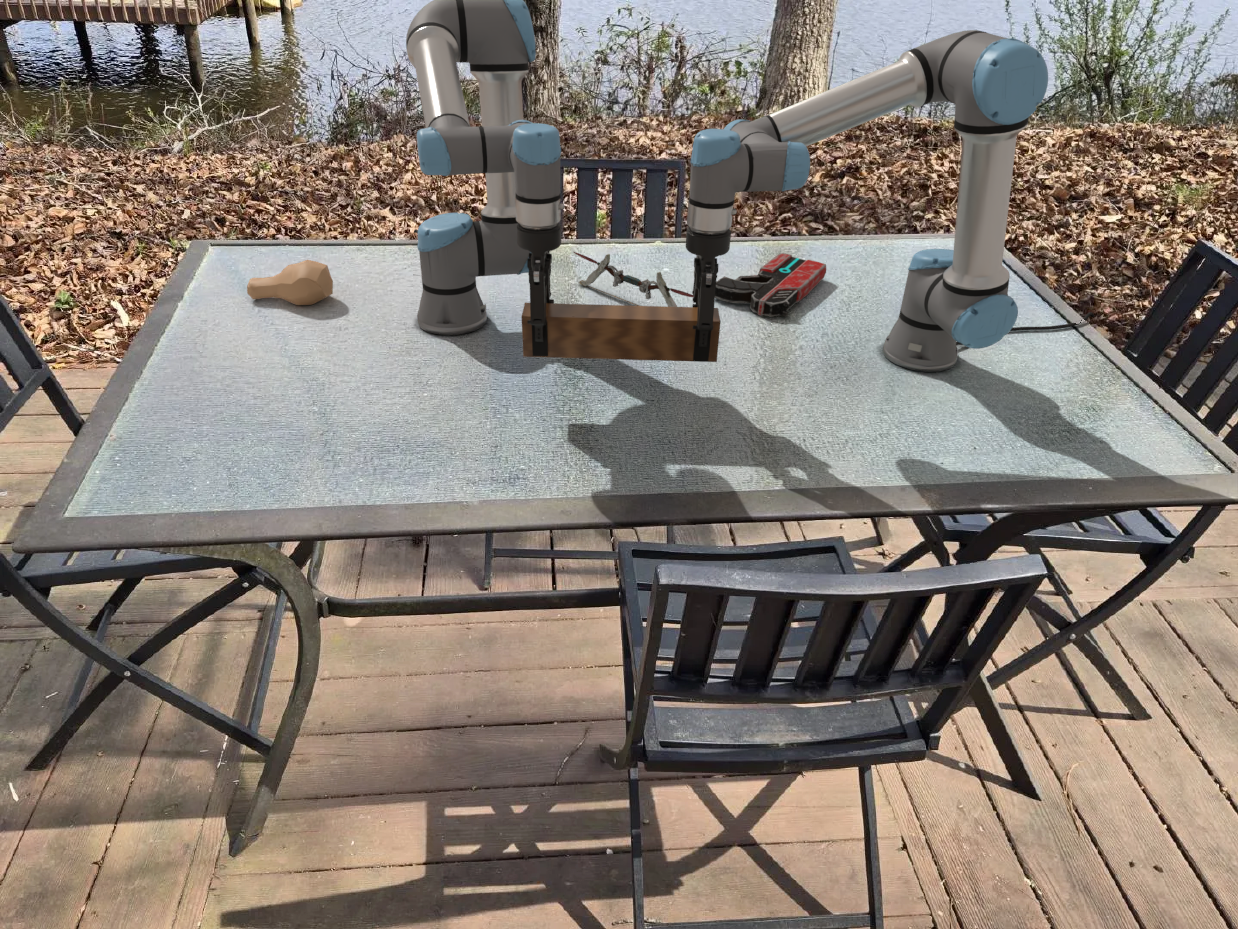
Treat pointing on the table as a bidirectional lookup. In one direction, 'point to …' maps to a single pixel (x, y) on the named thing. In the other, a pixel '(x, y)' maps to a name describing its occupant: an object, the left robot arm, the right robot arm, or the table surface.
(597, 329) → the bar
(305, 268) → the squash
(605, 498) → the table surface
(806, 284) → the gun
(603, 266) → the bow
